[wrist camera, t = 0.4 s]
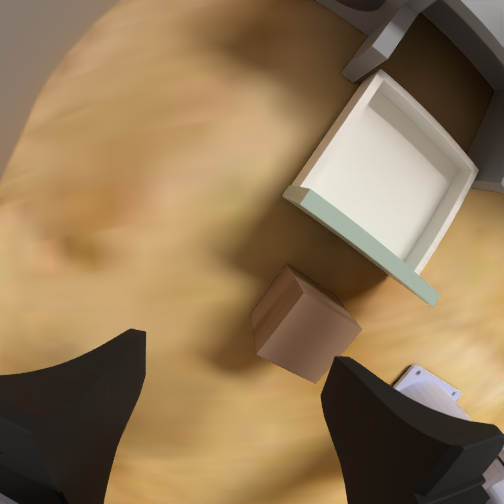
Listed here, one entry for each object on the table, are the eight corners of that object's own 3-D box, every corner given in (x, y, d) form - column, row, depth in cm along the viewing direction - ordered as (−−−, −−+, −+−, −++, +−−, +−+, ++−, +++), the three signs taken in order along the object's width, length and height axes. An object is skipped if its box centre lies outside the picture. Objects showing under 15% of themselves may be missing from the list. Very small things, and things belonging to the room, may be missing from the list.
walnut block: (334, 294, 20) (362, 329, 15) (298, 340, 21) (315, 383, 16) (286, 263, 19) (303, 292, 14) (250, 313, 20) (256, 354, 15)
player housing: (503, 92, 17) (569, 81, 9) (461, 187, 19) (541, 199, 11) (339, -53, 14) (373, -113, 6) (260, 22, 15) (276, -53, 8)
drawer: (457, 169, 18) (507, 173, 13) (391, 277, 20) (432, 307, 15) (362, 78, 16) (401, 52, 11) (281, 196, 18) (299, 204, 13)
